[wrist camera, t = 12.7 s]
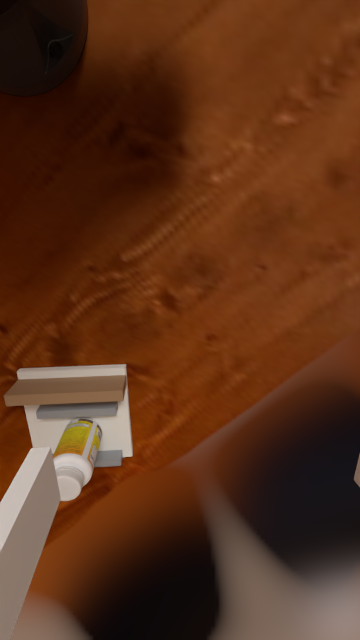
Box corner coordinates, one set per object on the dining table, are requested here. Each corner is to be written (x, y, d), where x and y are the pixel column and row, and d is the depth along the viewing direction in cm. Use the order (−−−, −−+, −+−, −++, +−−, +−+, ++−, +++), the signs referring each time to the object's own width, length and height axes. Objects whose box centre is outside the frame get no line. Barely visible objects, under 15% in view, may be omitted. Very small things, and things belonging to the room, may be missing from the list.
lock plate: (19, 368, 41) (1, 387, 37) (125, 364, 42) (121, 382, 37) (38, 457, 46) (25, 484, 42) (132, 451, 47) (129, 477, 43)
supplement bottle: (57, 429, 44) (29, 488, 34) (84, 408, 43) (63, 463, 33) (84, 451, 45) (64, 513, 36) (110, 431, 45) (97, 490, 35)
